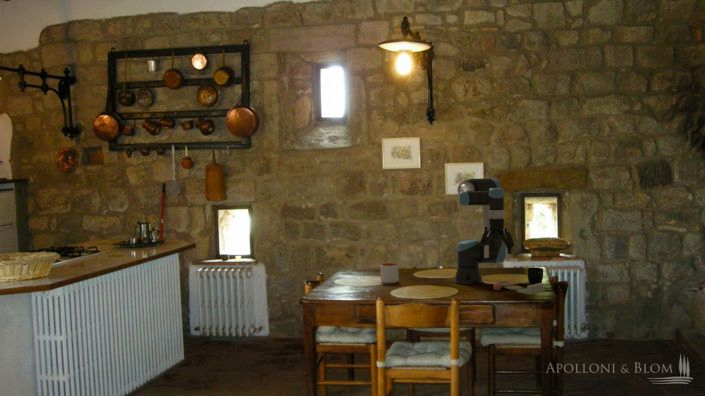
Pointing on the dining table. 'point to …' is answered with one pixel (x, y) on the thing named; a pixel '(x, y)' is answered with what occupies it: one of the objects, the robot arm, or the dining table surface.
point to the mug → (535, 275)
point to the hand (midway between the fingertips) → (497, 259)
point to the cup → (389, 273)
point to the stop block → (532, 289)
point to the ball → (497, 286)
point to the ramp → (510, 286)
